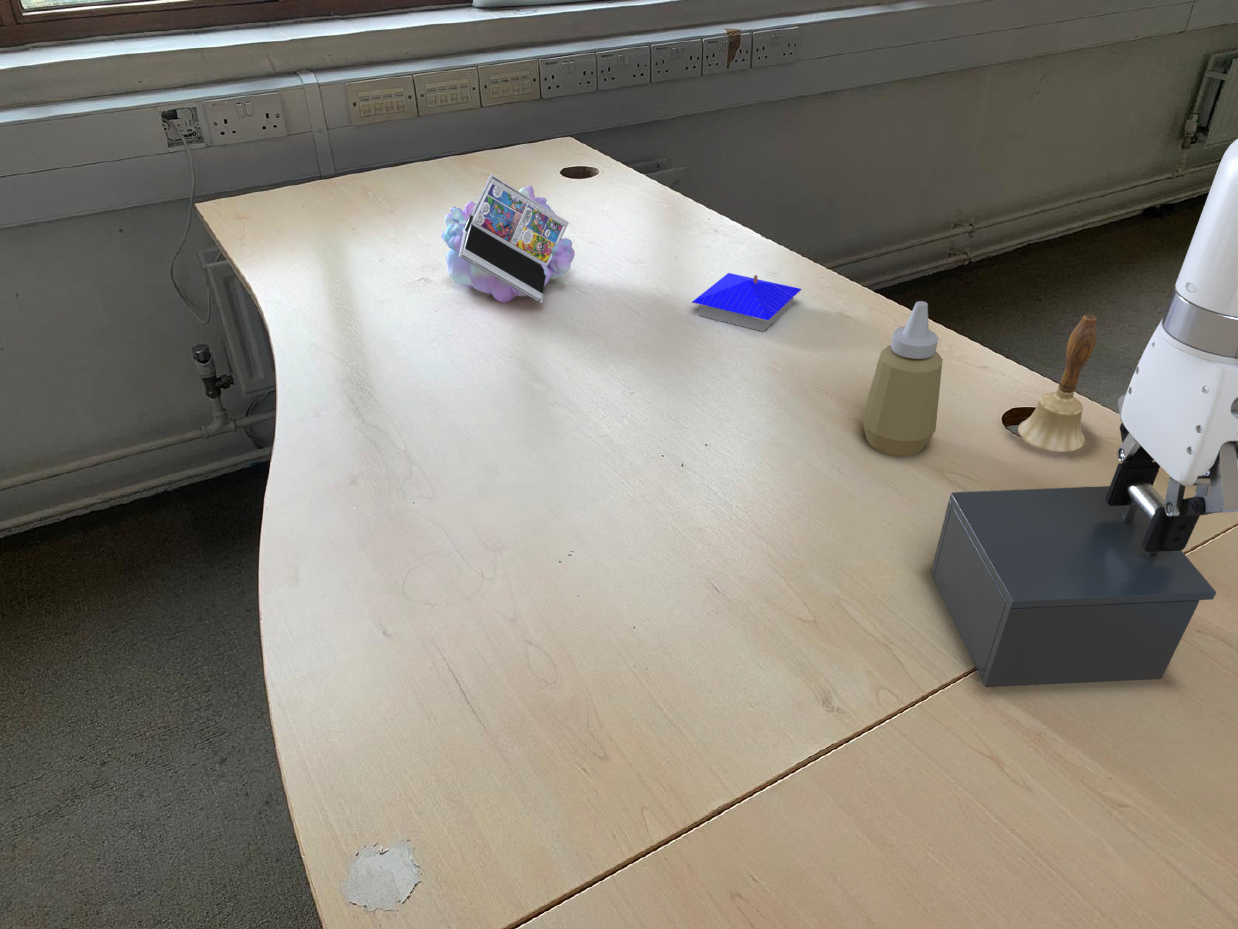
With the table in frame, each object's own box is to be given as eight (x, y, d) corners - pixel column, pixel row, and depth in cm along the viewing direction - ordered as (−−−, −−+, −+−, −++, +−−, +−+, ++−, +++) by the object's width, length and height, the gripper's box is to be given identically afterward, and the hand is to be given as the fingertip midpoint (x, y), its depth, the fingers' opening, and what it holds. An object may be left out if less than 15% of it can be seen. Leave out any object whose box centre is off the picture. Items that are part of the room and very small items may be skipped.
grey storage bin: (1081, 575, 85) (1112, 493, 79) (1157, 687, 74) (1200, 601, 68) (928, 582, 85) (948, 499, 79) (982, 696, 73) (1010, 609, 68)
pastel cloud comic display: (516, 217, 153) (464, 137, 138) (617, 238, 141) (573, 154, 127) (452, 311, 147) (391, 239, 133) (553, 341, 136) (498, 265, 121)
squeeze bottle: (920, 476, 98) (952, 327, 88) (848, 456, 102) (871, 310, 91) (938, 440, 104) (970, 296, 94) (869, 422, 107) (893, 281, 97)
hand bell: (1103, 446, 102) (1148, 318, 93) (1060, 471, 99) (1103, 341, 89) (1038, 415, 108) (1075, 291, 99) (995, 437, 104) (1029, 312, 95)
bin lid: (1123, 492, 79) (1141, 445, 76) (1213, 600, 68) (1238, 550, 65) (948, 499, 79) (960, 452, 76) (1010, 609, 68) (1027, 559, 65)
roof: (766, 335, 126) (770, 299, 123) (691, 316, 131) (692, 282, 128) (800, 303, 134) (803, 269, 131) (727, 286, 139) (729, 253, 136)
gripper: (1369, 381, 55) (1253, 597, 66) (1208, 270, 69) (1134, 462, 80) (1249, 385, 55) (1152, 601, 66) (1112, 273, 69) (1050, 466, 79)
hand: (1143, 523), depth 72 cm, fingers closed on bin lid, 5 cm apart
